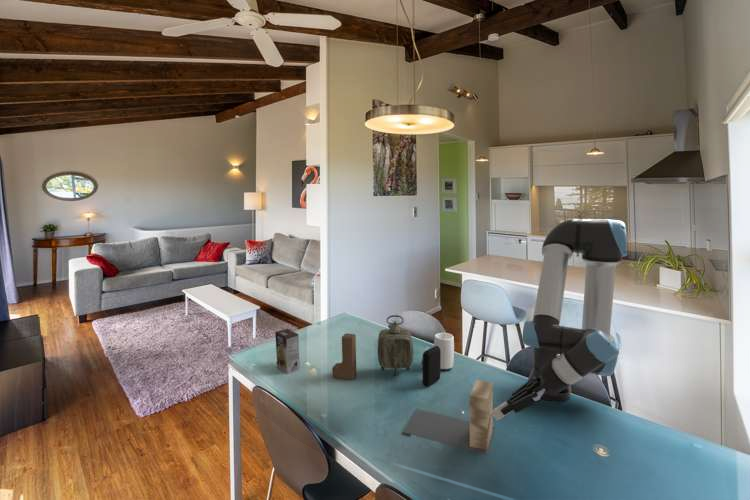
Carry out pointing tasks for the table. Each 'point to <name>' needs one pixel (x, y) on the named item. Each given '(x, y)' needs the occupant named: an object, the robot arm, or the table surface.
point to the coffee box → (287, 350)
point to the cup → (445, 349)
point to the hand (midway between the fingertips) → (494, 415)
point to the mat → (442, 429)
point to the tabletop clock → (395, 347)
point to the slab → (481, 414)
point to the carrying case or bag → (431, 365)
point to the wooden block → (346, 359)
